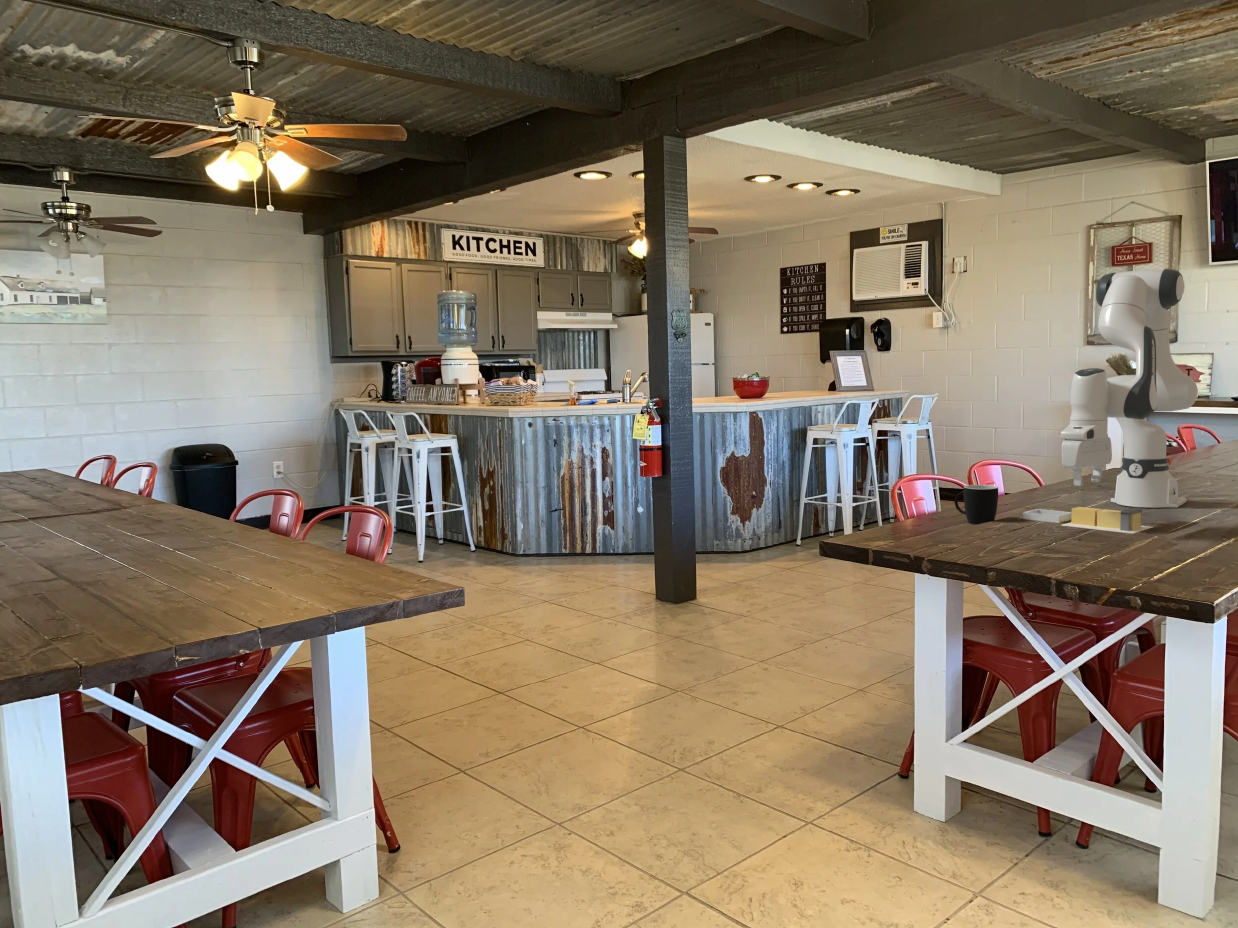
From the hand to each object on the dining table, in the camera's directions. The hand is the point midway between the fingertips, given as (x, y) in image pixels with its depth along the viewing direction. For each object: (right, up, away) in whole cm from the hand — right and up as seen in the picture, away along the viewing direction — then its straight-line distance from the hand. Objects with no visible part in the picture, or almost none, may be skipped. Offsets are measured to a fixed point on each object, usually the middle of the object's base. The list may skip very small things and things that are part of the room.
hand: (1087, 483), depth 240 cm
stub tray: (-5, -11, +11) cm, 16 cm away
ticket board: (+4, -12, -2) cm, 13 cm away
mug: (-23, -11, +16) cm, 30 cm away
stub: (+1, -11, +1) cm, 11 cm away
